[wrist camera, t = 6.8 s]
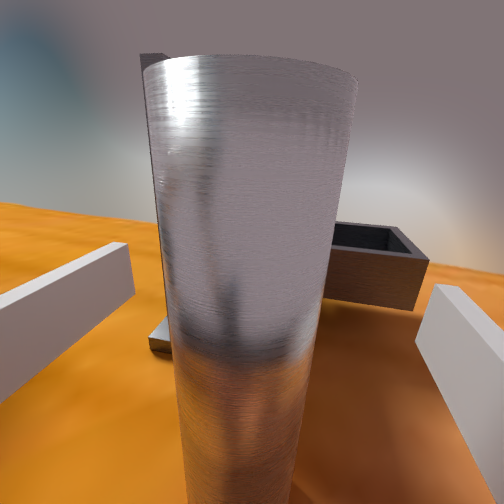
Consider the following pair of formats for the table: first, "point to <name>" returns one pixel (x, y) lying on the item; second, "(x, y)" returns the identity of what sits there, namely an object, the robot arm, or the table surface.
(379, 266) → the cup bracket
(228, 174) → the rail post
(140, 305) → the table surface
